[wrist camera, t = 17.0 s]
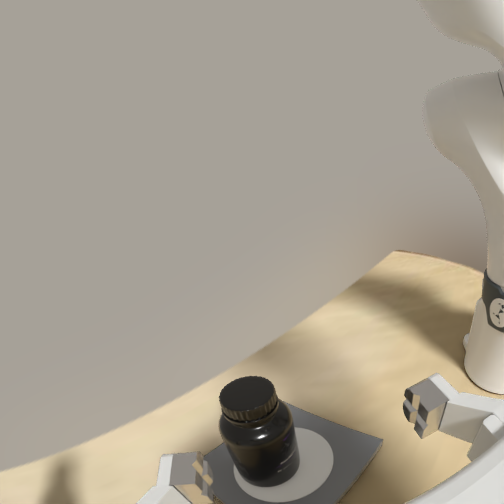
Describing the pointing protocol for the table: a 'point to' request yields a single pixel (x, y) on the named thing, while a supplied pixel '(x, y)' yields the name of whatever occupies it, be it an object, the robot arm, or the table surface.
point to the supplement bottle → (258, 432)
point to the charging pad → (302, 465)
